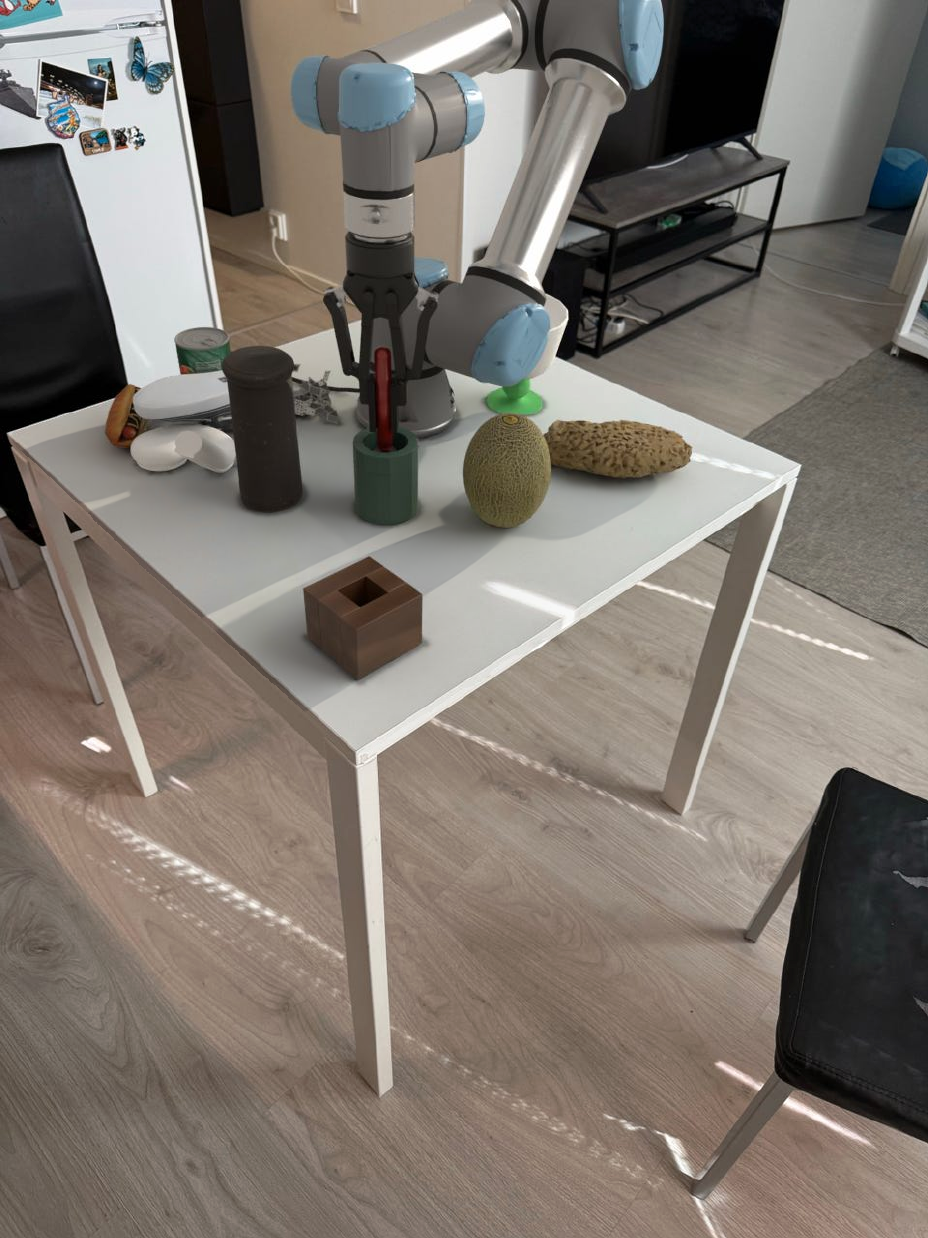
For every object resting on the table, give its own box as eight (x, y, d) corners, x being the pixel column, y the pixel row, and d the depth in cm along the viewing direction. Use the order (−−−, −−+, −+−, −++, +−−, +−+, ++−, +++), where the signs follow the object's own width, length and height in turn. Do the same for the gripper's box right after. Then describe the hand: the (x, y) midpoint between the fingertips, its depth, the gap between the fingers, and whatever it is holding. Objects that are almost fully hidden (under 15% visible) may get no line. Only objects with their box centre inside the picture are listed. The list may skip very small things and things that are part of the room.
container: (316, 486, 124) (305, 346, 111) (285, 520, 118) (270, 376, 105) (260, 473, 126) (243, 334, 113) (226, 506, 119) (204, 362, 107)
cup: (563, 387, 149) (575, 296, 138) (548, 433, 140) (560, 340, 129) (483, 373, 151) (488, 283, 140) (462, 418, 142) (466, 325, 131)
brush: (369, 496, 120) (363, 345, 106) (387, 488, 122) (384, 338, 108) (384, 507, 118) (380, 354, 104) (403, 498, 120) (401, 347, 106)
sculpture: (176, 430, 134) (166, 380, 129) (258, 457, 129) (252, 406, 124) (117, 466, 126) (104, 414, 120) (202, 496, 121) (193, 443, 116)
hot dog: (132, 417, 138) (157, 400, 137) (121, 463, 129) (149, 445, 127) (108, 393, 135) (134, 375, 134) (95, 437, 125) (123, 418, 124)
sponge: (536, 480, 130) (673, 492, 121) (534, 426, 127) (675, 434, 118) (569, 456, 140) (697, 465, 132) (568, 405, 137) (700, 411, 128)
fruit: (447, 505, 122) (450, 403, 112) (521, 489, 126) (530, 389, 116) (483, 551, 114) (490, 446, 104) (560, 533, 118) (574, 430, 108)
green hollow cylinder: (343, 505, 121) (339, 438, 114) (390, 484, 125) (389, 419, 119) (382, 532, 116) (381, 464, 110) (430, 509, 121) (431, 443, 114)
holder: (307, 637, 100) (302, 588, 96) (370, 604, 105) (369, 555, 101) (358, 680, 95) (355, 630, 91) (422, 643, 100) (422, 593, 96)
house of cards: (333, 347, 138) (369, 373, 136) (326, 395, 145) (360, 420, 142) (290, 364, 133) (326, 391, 130) (284, 413, 139) (318, 439, 137)
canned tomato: (175, 404, 140) (163, 336, 133) (217, 389, 145) (207, 322, 138) (206, 422, 136) (195, 352, 129) (248, 405, 141) (240, 337, 134)
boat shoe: (120, 384, 124) (126, 438, 129) (155, 410, 120) (159, 464, 125) (267, 351, 139) (267, 400, 144) (302, 373, 135) (300, 423, 140)
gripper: (304, 239, 95) (319, 439, 110) (447, 246, 95) (442, 445, 110) (315, 217, 101) (328, 410, 116) (450, 224, 101) (445, 415, 116)
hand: (384, 426), depth 113 cm, fingers closed on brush, 2 cm apart
